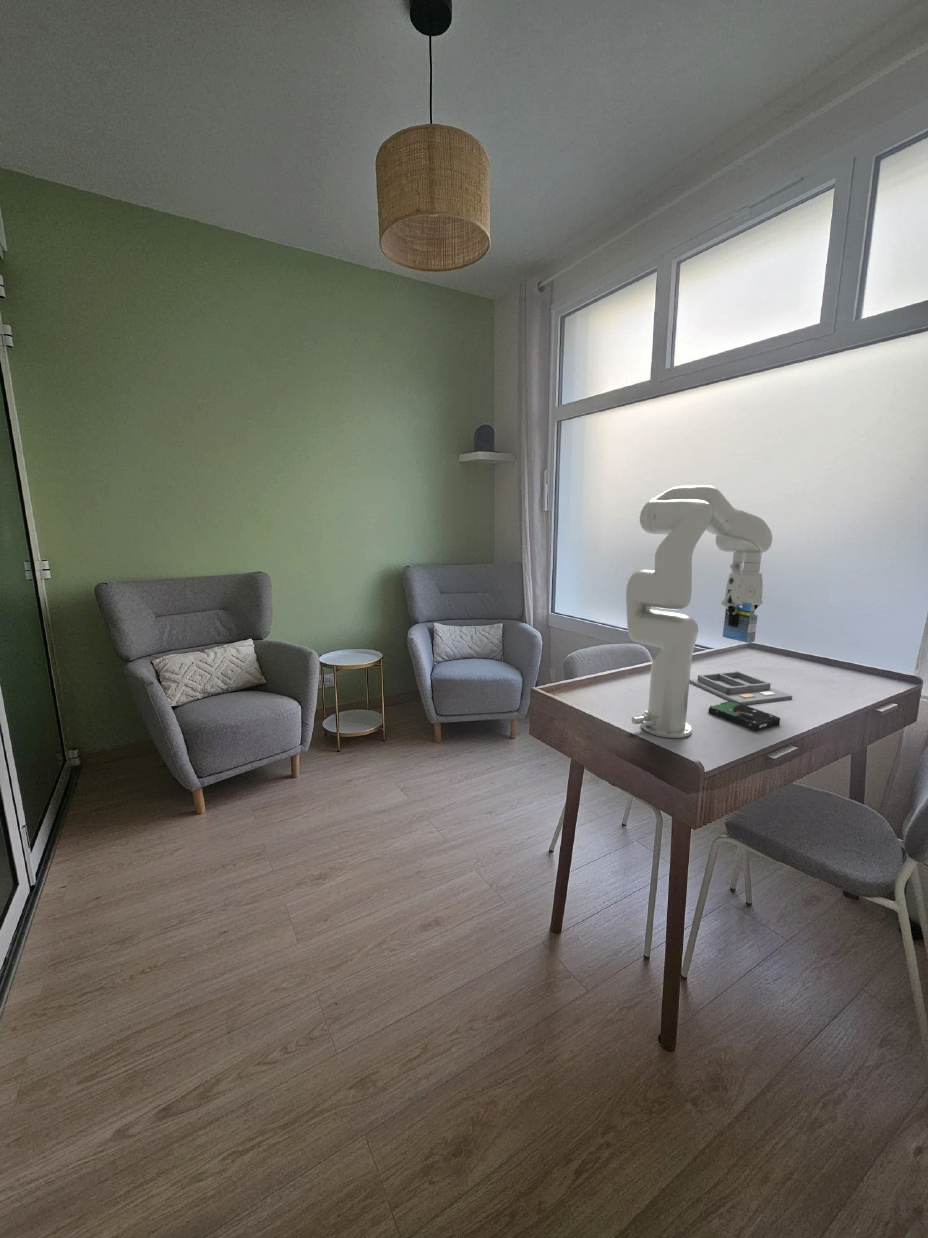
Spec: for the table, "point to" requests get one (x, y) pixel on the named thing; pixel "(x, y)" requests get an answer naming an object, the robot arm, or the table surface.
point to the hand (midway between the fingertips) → (739, 625)
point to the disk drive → (744, 716)
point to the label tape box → (741, 625)
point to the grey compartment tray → (739, 688)
